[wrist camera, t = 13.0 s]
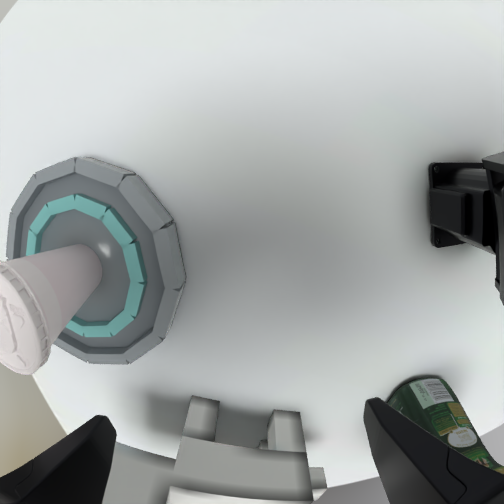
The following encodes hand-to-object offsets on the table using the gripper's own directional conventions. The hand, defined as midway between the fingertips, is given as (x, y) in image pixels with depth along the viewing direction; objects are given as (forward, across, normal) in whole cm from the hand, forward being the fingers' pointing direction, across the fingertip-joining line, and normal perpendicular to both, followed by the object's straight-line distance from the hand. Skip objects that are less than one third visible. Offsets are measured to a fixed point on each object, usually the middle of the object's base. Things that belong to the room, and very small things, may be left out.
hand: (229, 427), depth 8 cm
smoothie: (+12, +12, -3) cm, 17 cm away
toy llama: (+13, +4, +15) cm, 20 cm away
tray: (+13, +12, -3) cm, 18 cm away
